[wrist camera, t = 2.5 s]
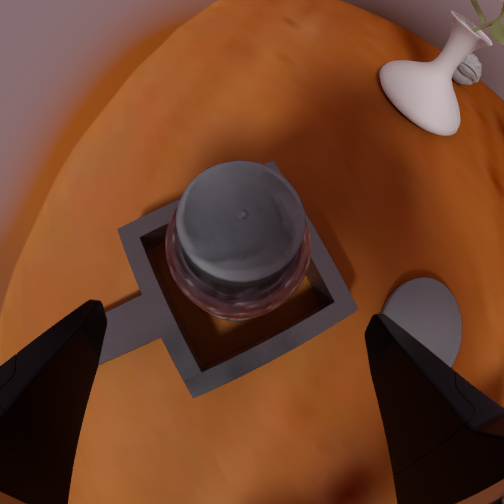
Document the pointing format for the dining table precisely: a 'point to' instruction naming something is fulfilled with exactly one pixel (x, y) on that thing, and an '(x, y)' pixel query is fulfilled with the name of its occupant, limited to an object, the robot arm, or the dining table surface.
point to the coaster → (427, 315)
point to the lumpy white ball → (467, 71)
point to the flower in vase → (437, 76)
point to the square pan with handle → (173, 331)
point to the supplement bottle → (238, 240)
